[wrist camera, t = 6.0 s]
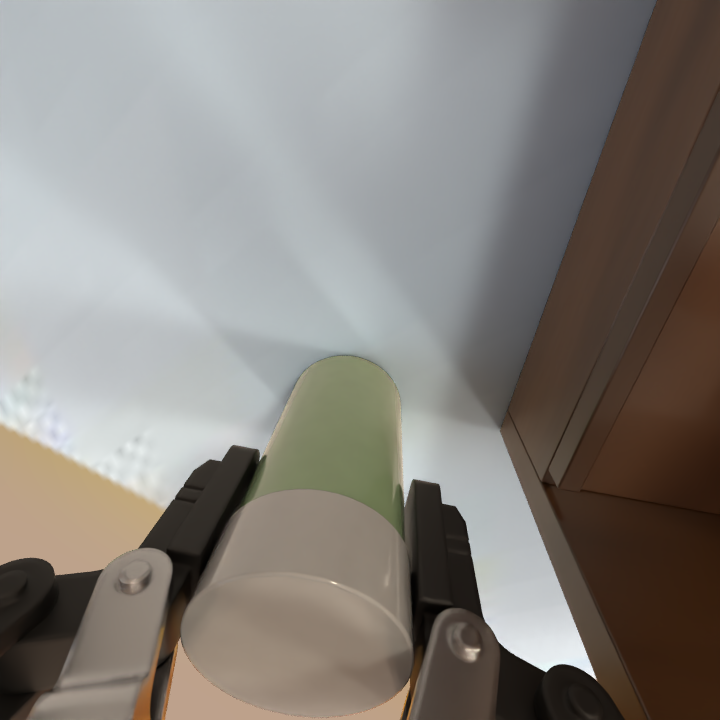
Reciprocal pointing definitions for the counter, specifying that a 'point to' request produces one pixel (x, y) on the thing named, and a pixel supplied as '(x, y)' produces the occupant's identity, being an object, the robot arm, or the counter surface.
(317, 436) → the cylinder
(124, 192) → the counter surface
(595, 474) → the spice rack
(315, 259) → the counter surface
